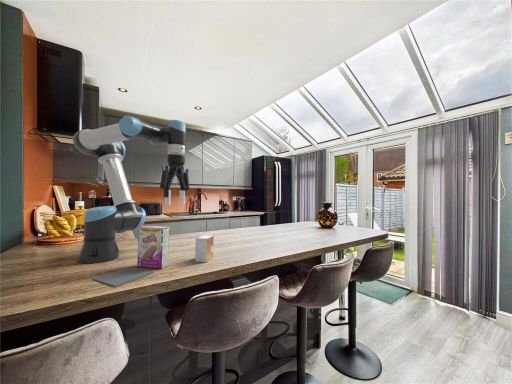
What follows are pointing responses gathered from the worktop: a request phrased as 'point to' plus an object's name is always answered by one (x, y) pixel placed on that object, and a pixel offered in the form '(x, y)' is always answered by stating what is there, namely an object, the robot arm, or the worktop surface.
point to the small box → (204, 248)
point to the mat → (122, 276)
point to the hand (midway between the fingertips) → (175, 204)
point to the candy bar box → (153, 247)
